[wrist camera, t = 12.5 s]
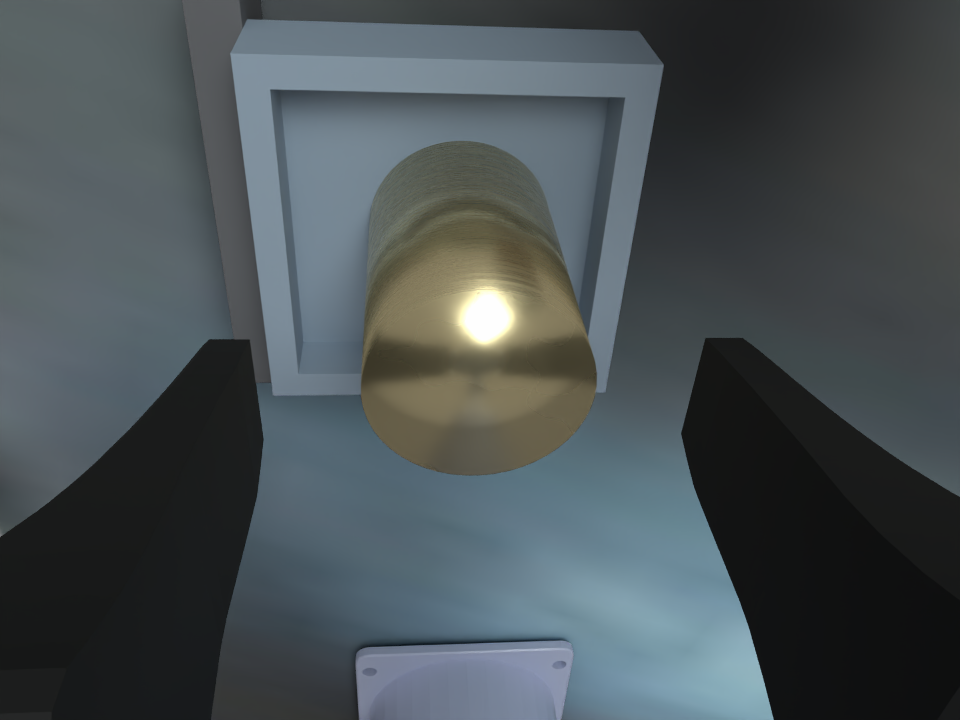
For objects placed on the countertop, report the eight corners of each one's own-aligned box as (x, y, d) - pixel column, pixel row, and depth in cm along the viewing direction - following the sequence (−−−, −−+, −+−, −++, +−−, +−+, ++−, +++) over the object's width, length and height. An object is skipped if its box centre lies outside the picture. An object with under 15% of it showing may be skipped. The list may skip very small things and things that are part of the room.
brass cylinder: (555, 287, 19) (602, 457, 15) (389, 312, 19) (386, 489, 15) (540, 126, 17) (591, 274, 13) (351, 157, 17) (335, 313, 13)
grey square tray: (578, 304, 23) (605, 392, 20) (290, 303, 22) (273, 395, 19) (620, 6, 18) (664, 64, 15) (258, -5, 17) (230, 53, 14)
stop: (292, 325, 22) (282, 382, 20) (254, 325, 22) (240, 382, 20) (255, -46, 17) (237, -16, 15) (204, -48, 17) (179, -18, 15)
